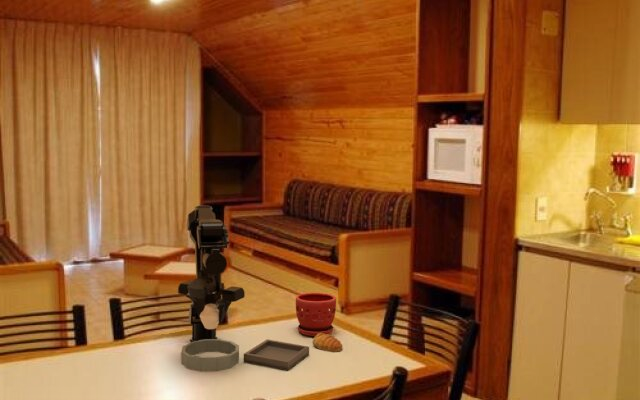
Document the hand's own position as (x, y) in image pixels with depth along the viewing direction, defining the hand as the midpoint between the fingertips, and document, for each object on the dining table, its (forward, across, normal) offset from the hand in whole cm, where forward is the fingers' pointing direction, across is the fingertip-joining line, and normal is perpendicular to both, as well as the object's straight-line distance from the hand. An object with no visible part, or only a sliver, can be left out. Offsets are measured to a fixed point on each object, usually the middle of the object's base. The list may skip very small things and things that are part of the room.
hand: (210, 320), depth 186 cm
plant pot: (+12, +16, +37) cm, 42 cm away
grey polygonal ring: (+12, 0, 0) cm, 12 cm away
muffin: (+2, 0, 0) cm, 2 cm away
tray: (+12, +16, +10) cm, 22 cm away
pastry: (+12, +25, +26) cm, 38 cm away
